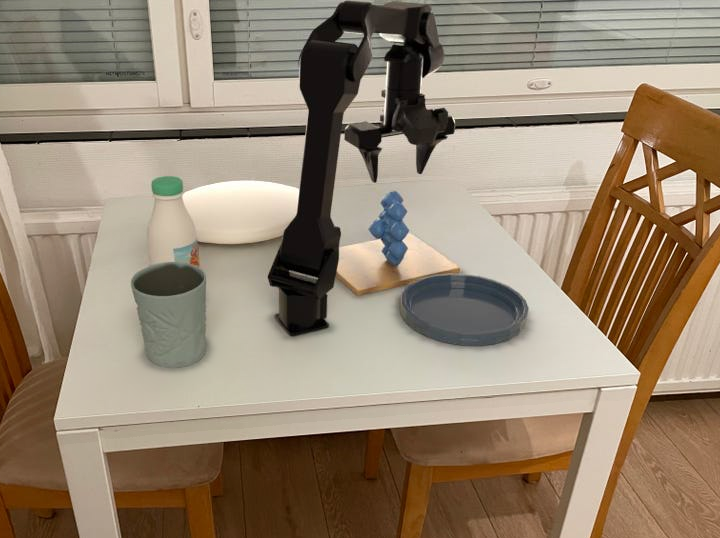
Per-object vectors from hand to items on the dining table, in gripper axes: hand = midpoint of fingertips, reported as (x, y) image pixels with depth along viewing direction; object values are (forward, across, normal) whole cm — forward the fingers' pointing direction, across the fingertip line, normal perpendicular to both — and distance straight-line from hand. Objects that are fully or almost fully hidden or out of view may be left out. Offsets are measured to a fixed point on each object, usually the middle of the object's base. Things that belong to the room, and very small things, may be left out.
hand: (397, 177), depth 132 cm
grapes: (+12, -6, -7) cm, 15 cm away
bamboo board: (+12, -6, -7) cm, 15 cm away
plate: (+13, -23, +20) cm, 33 cm away
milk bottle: (+12, -43, -4) cm, 44 cm away
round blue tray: (+12, -4, -27) cm, 30 cm away
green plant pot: (+12, -48, -19) cm, 53 cm away
